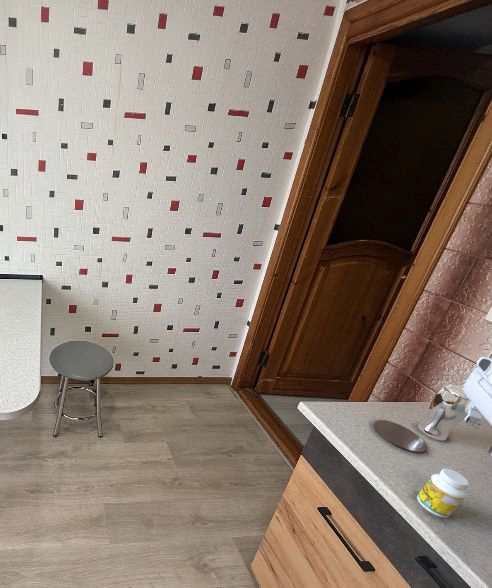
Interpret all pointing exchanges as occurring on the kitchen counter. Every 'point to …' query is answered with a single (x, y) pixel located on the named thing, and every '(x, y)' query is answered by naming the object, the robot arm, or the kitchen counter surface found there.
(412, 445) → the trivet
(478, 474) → the kitchen counter surface
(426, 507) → the supplement bottle
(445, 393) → the beer glass
